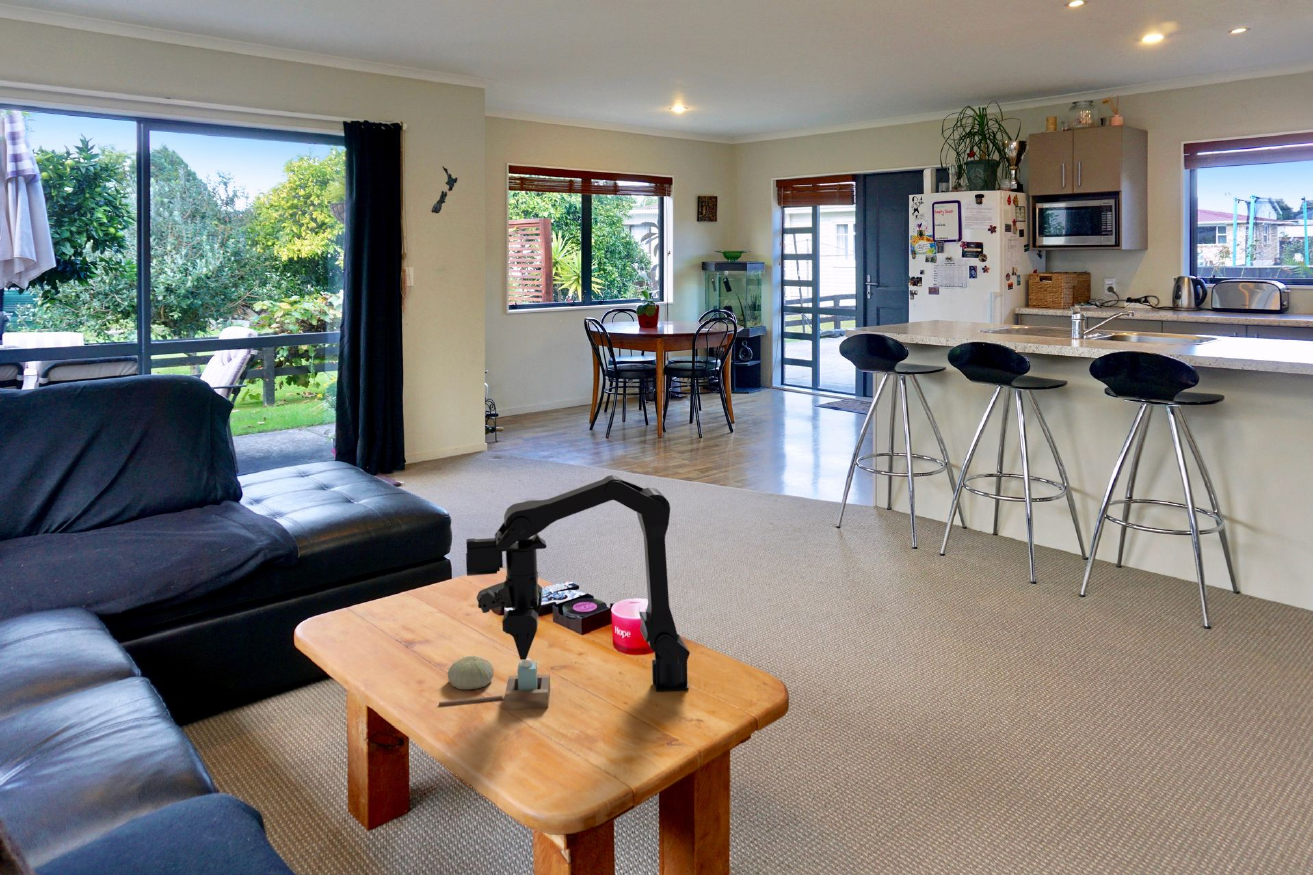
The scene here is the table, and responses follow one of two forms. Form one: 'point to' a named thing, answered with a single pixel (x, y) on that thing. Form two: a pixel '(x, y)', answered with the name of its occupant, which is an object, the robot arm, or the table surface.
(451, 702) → the brown wooden rod
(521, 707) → the wooden socket block
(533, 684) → the teal rectangular block
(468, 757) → the table surface
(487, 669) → the sea urchin shell
